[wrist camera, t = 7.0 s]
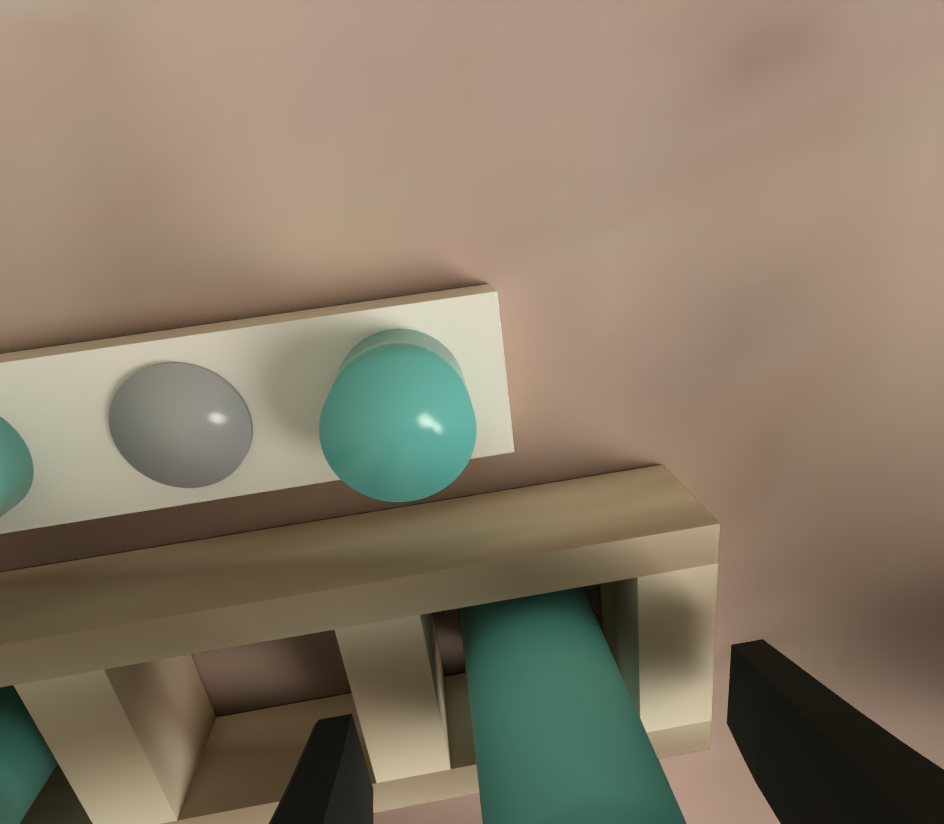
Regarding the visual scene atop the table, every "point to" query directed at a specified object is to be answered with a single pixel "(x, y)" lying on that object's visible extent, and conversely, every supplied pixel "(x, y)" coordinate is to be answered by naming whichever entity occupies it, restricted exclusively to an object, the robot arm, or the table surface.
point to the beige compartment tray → (359, 638)
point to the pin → (556, 718)
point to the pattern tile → (255, 408)
